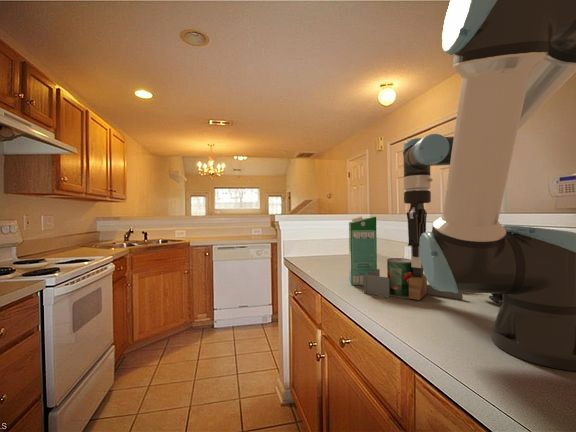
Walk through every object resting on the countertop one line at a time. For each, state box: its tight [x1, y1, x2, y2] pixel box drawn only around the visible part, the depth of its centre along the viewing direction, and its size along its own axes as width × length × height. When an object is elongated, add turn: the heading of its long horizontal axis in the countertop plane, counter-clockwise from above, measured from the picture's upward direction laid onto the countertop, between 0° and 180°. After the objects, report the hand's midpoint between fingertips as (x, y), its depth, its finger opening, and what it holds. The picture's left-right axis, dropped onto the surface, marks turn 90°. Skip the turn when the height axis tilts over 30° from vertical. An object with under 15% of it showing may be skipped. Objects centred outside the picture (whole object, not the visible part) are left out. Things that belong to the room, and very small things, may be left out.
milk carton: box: [348, 215, 378, 286], centre depth 105 cm, size 9×9×25 cm
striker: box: [408, 263, 428, 301], centre depth 86 cm, size 9×3×18 cm, turn 141°
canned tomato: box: [386, 257, 413, 299], centre depth 89 cm, size 8×8×11 cm
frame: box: [363, 268, 464, 301], centre depth 87 cm, size 12×26×6 cm, turn 51°
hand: (417, 266), depth 86 cm, fingers closed on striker, 2 cm apart
